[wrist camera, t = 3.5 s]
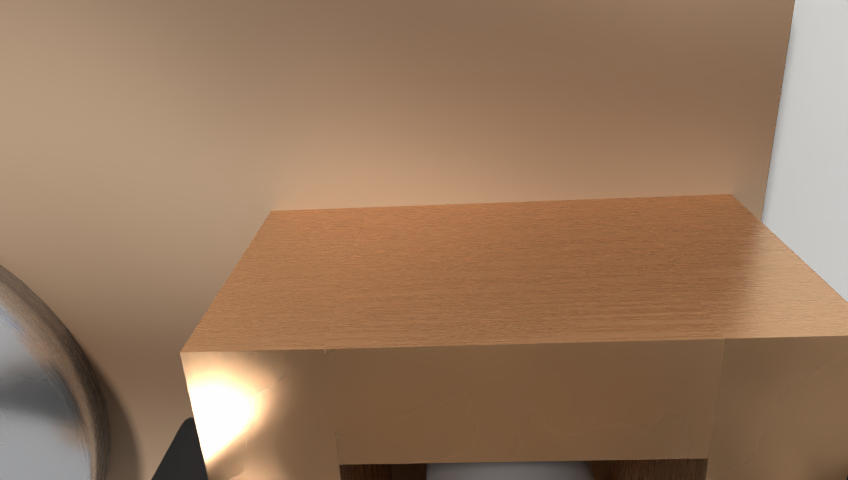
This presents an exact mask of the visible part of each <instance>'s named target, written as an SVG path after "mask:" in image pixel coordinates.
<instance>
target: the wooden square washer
mask: <svg viewBox="0 0 848 480" xmlns="http://www.w3.org/2000/svg"><path fill="white" fill-rule="evenodd" d="M180 356H181V360H182V365H183V369H184V374H185V378H186V382H187V387H188V391H189V396H190V400H191V404H192V409H193V413H194V418H195V422H196V426H197V431H198V435H199V440H200V444H201V448H202V453H203V457H204V462H205V466H206V470H207V475H208V479H209V480H392V475H391V464H409V463H469V462H529V461H589V460H611V474H610V480H847V475H848V302H847V301H845V300H844V299H843V298H842V297H841V296H840V295H839V294H838V293H837V292H836V291H835V290H834V289H833V288H832V287H830V286H829V285H828V284H827V283H826V282H825V281H824V280H823V279H822V278H821V277H820V276H819V275H818V274H816V273H815V272H814V271H813V270H812V269H811V268H810V267H809V266H808V265H807V264H806V263H805V262H804V261H803V260H801V259H800V258H799V257H798V256H797V255H796V254H795V253H794V252H793V251H792V250H791V249H790V248H789V247H788V246H786V245H785V244H784V243H783V242H782V241H781V240H780V239H779V238H778V237H777V236H776V235H775V234H774V233H773V232H771V231H770V230H769V229H768V228H767V227H766V226H765V225H764V224H763V223H762V222H761V221H760V220H759V219H758V218H756V217H755V216H754V215H753V214H752V213H751V212H750V211H749V210H748V209H747V208H746V207H745V206H744V205H742V204H741V203H740V202H739V201H738V200H737V199H736V198H735V197H734V196H733V195H732V194H720V195H693V196H665V197H638V198H610V199H583V200H555V201H528V202H501V203H473V204H446V205H418V206H391V207H363V208H336V209H308V210H281V211H271V212H270V214H269V215H268V217H267V218H266V220H265V221H264V223H263V224H262V226H261V228H260V229H259V231H258V232H257V234H256V235H255V237H254V238H253V240H252V241H251V243H250V245H249V246H248V248H247V249H246V251H245V252H244V254H243V255H242V257H241V259H240V260H239V262H238V263H237V265H236V266H235V268H234V269H233V271H232V272H231V274H230V276H229V277H228V279H227V280H226V282H225V283H224V285H223V286H222V288H221V290H220V291H219V293H218V294H217V296H216V297H215V299H214V300H213V302H212V304H211V305H210V307H209V308H208V310H207V311H206V313H205V314H204V316H203V317H202V319H201V321H200V322H199V324H198V325H197V327H196V328H195V330H194V331H193V333H192V335H191V336H190V338H189V339H188V341H187V342H186V344H185V345H184V347H183V348H182V350H181V352H180Z"/></svg>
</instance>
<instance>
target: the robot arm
mask: <svg viewBox="0 0 848 480" xmlns="http://www.w3.org/2000/svg"><path fill="white" fill-rule="evenodd" d="M151 480H209V479H208V475H207V470H206V466H205V462H204V457H203V453H202V448H201V444H200V440H199V435H198V431H197V426H196V422H195V418H194V417H190V418H188V419H186V420H185V421H184V422H183V423H182V425H181V426H180V428H179V430H178V432H177V434H176V435H175V437H174V439H173V441H172V443H171V444H170V446H169V448H168V450H167V452H166V454H165V455H164V457H163V459H162V461H161V463H160V465H159V466H158V468H157V470H156V472H155V474H154V476H153V477H152V479H151ZM847 480H848V475H847Z"/></svg>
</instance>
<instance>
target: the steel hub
mask: <svg viewBox="0 0 848 480" xmlns="http://www.w3.org/2000/svg"><path fill="white" fill-rule="evenodd" d="M110 452H111V435H110V422H109V417H108V413H107V408H106V403H105V399H104V397H103V394H102V391H101V388H100V386H99V383H98V380H97V377H96V375H95V373H94V371H93V369H92V368H91V366H90V364H89V362H88V360H87V358H86V356H85V354H84V352H83V351H82V349H81V348H80V346H79V345H78V343H77V342H76V340H75V339H74V338H73V336H72V335H71V333H70V332H69V330H68V329H67V327H66V326H65V325H64V324H63V323H62V321H61V320H60V319H59V318H58V317H57V316H56V315H55V313H54V312H53V311H52V310H51V309H50V308H49V306H48V305H47V304H46V303H45V302H44V301H43V300H42V299H41V298H40V297H39V296H37V295H36V294H35V293H34V292H33V291H32V290H31V289H30V288H29V287H28V286H27V285H26V284H25V283H24V282H22V281H21V280H20V279H19V278H18V277H16V276H15V275H14V274H12V273H11V272H10V271H8V270H7V269H6V268H4V267H3V266H2V265H0V480H105V478H106V475H107V471H108V468H109V460H110Z"/></svg>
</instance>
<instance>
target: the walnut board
mask: <svg viewBox="0 0 848 480" xmlns="http://www.w3.org/2000/svg"><path fill="white" fill-rule="evenodd" d="M794 3H795V0H0V265H2V266H3V267H4V268H6V269H7V270H8V271H10V272H11V273H12V274H14V275H15V276H16V277H18V278H19V279H20V280H21V281H22V282H24V283H25V284H26V285H27V286H28V287H29V288H30V289H31V290H32V291H33V292H34V293H35V294H36V295H37V296H39V297H40V298H41V299H42V300H43V301H44V302H45V303H46V304H47V305H48V306H49V308H50V309H51V310H52V311H53V312H54V313H55V315H56V316H57V317H58V318H59V319H60V320H61V321H62V323H63V324H64V325H65V326H66V327H67V329H68V330H69V332H70V333H71V335H72V336H73V338H74V339H75V340H76V342H77V343H78V345H79V346H80V348H81V349H82V351H83V352H84V354H85V356H86V358H87V360H88V362H89V364H90V366H91V368H92V369H93V371H94V373H95V375H96V377H97V380H98V383H99V386H100V388H101V391H102V394H103V397H104V399H105V403H106V408H107V413H108V417H109V422H110V435H111V452H110V460H109V468H108V471H107V475H106V478H105V480H151V479H152V477H153V476H154V474H155V472H156V470H157V468H158V466H159V465H160V463H161V461H162V459H163V457H164V455H165V454H166V452H167V450H168V448H169V446H170V444H171V443H172V441H173V439H174V437H175V435H176V434H177V432H178V430H179V428H180V426H181V425H182V423H183V422H184V421H185V420H186V419H188V418H190V417H194V413H193V409H192V404H191V400H190V396H189V391H188V387H187V382H186V378H185V374H184V369H183V365H182V360H181V356H180V352H181V350H182V348H183V347H184V345H185V344H186V342H187V341H188V339H189V338H190V336H191V335H192V333H193V331H194V330H195V328H196V327H197V325H198V324H199V322H200V321H201V319H202V317H203V316H204V314H205V313H206V311H207V310H208V308H209V307H210V305H211V304H212V302H213V300H214V299H215V297H216V296H217V294H218V293H219V291H220V290H221V288H222V286H223V285H224V283H225V282H226V280H227V279H228V277H229V276H230V274H231V272H232V271H233V269H234V268H235V266H236V265H237V263H238V262H239V260H240V259H241V257H242V255H243V254H244V252H245V251H246V249H247V248H248V246H249V245H250V243H251V241H252V240H253V238H254V237H255V235H256V234H257V232H258V231H259V229H260V228H261V226H262V224H263V223H264V221H265V220H266V218H267V217H268V215H269V214H270V212H271V211H281V210H308V209H336V208H363V207H391V206H418V205H446V204H473V203H501V202H528V201H555V200H583V199H610V198H638V197H665V196H693V195H720V194H732V195H733V196H734V197H735V198H736V199H737V200H738V201H739V202H740V203H741V204H742V205H744V206H745V207H746V208H747V209H748V210H749V211H750V212H751V213H752V214H753V215H754V216H755V217H756V218H758V219H759V220H760V221H761V219H762V212H763V205H764V199H765V192H766V186H767V179H768V173H769V166H770V160H771V153H772V147H773V140H774V134H775V127H776V121H777V114H778V108H779V101H780V95H781V88H782V82H783V75H784V69H785V62H786V55H787V49H788V42H789V36H790V29H791V23H792V16H793V10H794ZM610 474H611V460H589V461H529V462H469V463H409V464H391V475H392V480H610Z"/></svg>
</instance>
